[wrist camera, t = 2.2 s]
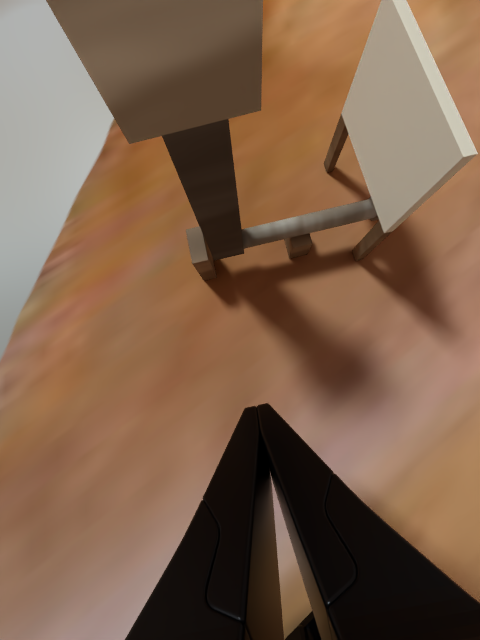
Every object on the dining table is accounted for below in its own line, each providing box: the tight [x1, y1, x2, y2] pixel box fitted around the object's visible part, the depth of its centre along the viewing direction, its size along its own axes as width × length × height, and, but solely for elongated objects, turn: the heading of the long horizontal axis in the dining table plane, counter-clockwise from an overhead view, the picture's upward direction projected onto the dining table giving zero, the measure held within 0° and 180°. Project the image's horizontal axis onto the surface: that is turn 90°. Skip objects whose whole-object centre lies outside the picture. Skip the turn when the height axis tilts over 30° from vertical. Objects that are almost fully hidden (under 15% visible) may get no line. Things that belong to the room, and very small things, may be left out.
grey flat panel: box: [341, 0, 478, 233], centre depth 13 cm, size 10×1×6 cm, turn 12°
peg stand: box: [186, 114, 393, 280], centre depth 19 cm, size 10×14×4 cm
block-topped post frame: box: [46, 0, 379, 260], centre depth 12 cm, size 3×14×14 cm, turn 102°
